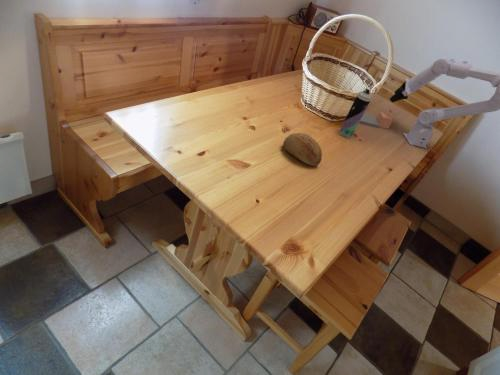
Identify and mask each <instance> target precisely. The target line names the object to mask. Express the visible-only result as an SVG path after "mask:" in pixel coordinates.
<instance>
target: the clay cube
mask: <svg viewBox="0 0 500 375" xmlns="http://www.w3.org/2000/svg"><path fill="white" fill-rule="evenodd" d="M376 119H377V121H378V123H379V124H380V127H379V128H383V129H387V130H388V129H389V127H390V126H391V124H392V123H393V121H394V118H393V116H392V115H391V114H389V113H385V112H381V111H380V112H379V113H378V115H377V117H376Z"/></svg>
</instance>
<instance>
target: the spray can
mask: <svg viewBox="0 0 500 375" xmlns="http://www.w3.org/2000/svg"><path fill="white" fill-rule="evenodd" d="M370 91H371V90H370V89H369V88H367V87H366V88H365V89H364V90H363V91H358V93H357V95H356V96H355V98H354V100H353V103H352V104H351V106H350V109H349V111H348V112H347V115H346V116H345V119H344V120H343V123H342V124H341V127H340V129H339V135H341V136H342V137H344V138H348V139H349V138H352V136H353V135H354V132H355V131H356V128H357V127H358V125H359V124H360V123H359V122H360V120H361V118H362V116H363V114H364V113H366V110H367V108H368V107H369V105H370V103H371V102H372V96H371V92H370Z"/></svg>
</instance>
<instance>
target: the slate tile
mask: <svg viewBox="0 0 500 375" xmlns="http://www.w3.org/2000/svg"><path fill="white" fill-rule="evenodd" d="M358 124H362V125H364V126H369V127H374V128H378V129H379V128H381V127H380V124H379V123H378V121H377V117H376V116H375V115H373V114H370V113H366V112H364V114H363V116H362V118H361V120H360V122H359V123H358Z"/></svg>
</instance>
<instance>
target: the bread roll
mask: <svg viewBox="0 0 500 375" xmlns="http://www.w3.org/2000/svg"><path fill="white" fill-rule="evenodd" d="M282 145H283V148H284V150H285V151H286V152H288V154H290V155H292V156H293V157H295V158H296V159H298V160H299V161H301V162H302V163H304V164H306V165H309V166H311V167H312V166H313V167H314V166H315V167H316V166H319V165H320V163H321V161H322V157H323V154H322V153H323V152H322V148H321V146H320V144H319V143H318V142H317V140H316V139H315V138H313V137H312V136H310V135H309V134H307V133H303V132H302V133H301V132H293V133H290V134H289V135H288V136H287V137H286V138H284V141H283V144H282Z"/></svg>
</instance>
